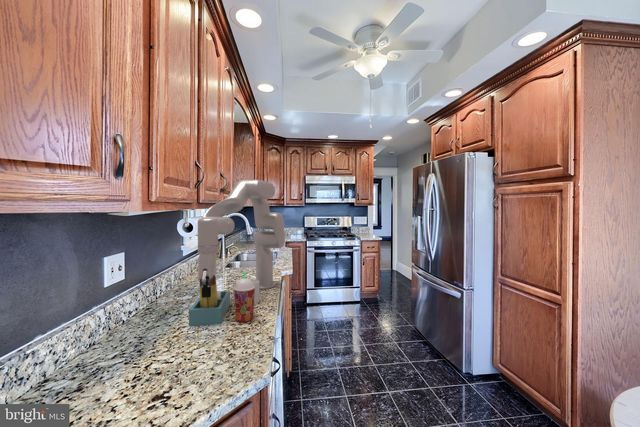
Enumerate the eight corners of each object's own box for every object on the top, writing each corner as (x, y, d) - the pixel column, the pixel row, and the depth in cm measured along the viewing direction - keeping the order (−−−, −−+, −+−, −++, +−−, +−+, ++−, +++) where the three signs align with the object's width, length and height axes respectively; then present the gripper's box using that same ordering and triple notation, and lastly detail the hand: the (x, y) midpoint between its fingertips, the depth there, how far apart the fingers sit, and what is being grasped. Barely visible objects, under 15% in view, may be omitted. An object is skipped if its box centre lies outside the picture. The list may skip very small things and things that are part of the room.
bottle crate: (204, 307, 123) (203, 292, 123) (230, 305, 125) (230, 290, 125) (189, 328, 102) (188, 310, 102) (220, 326, 104) (220, 308, 104)
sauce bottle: (218, 306, 112) (217, 258, 112) (216, 312, 106) (216, 261, 106) (201, 308, 111) (200, 259, 110) (198, 314, 105) (197, 262, 104)
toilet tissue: (261, 306, 125) (261, 284, 125) (233, 309, 121) (233, 287, 121) (258, 298, 135) (258, 278, 135) (232, 301, 131) (232, 280, 131)
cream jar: (209, 307, 121) (209, 291, 120) (221, 306, 122) (221, 291, 121) (206, 311, 116) (206, 295, 115) (219, 311, 116) (219, 294, 116)
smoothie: (254, 315, 114) (254, 268, 113) (256, 324, 106) (256, 273, 105) (233, 318, 111) (233, 269, 111) (233, 327, 103) (233, 274, 103)
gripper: (203, 246, 116) (204, 288, 116) (191, 253, 99) (192, 302, 99) (222, 245, 117) (222, 287, 117) (213, 252, 100) (213, 301, 100)
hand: (208, 293), depth 108 cm, fingers closed on sauce bottle, 6 cm apart
